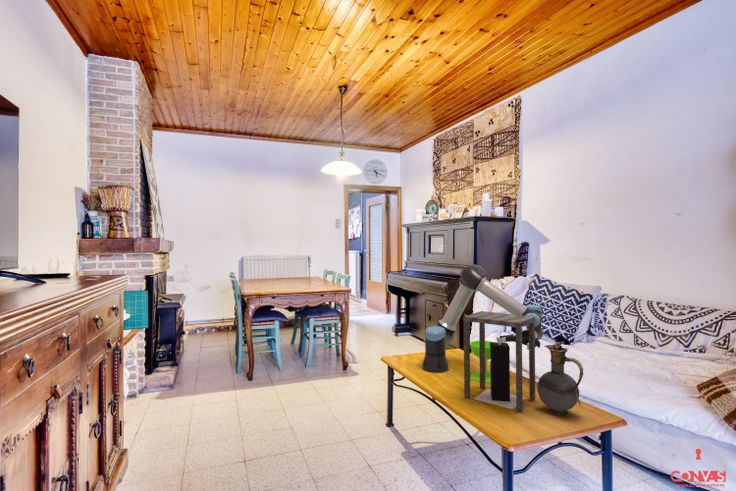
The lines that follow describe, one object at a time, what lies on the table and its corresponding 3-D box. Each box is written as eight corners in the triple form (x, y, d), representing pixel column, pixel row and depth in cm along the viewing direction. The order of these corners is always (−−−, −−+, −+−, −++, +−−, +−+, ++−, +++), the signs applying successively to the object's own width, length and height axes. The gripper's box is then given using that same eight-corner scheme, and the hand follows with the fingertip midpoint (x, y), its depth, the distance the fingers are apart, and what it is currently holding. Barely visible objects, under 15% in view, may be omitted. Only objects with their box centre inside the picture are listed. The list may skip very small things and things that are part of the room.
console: (463, 398, 181) (463, 316, 181) (482, 386, 196) (481, 311, 197) (520, 413, 164) (519, 323, 164) (535, 399, 179) (534, 316, 180)
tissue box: (510, 402, 175) (509, 339, 176) (492, 400, 177) (491, 338, 177) (507, 395, 183) (507, 335, 183) (490, 394, 185) (489, 335, 185)
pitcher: (550, 403, 175) (549, 336, 175) (591, 419, 158) (590, 345, 158) (533, 408, 170) (532, 339, 170) (574, 425, 153) (573, 348, 153)
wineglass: (501, 384, 200) (500, 348, 200) (468, 380, 205) (468, 346, 205) (501, 374, 215) (500, 341, 215) (471, 371, 220) (470, 339, 220)
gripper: (553, 348, 199) (540, 356, 183) (504, 340, 215) (489, 347, 199) (553, 333, 199) (540, 340, 183) (504, 326, 215) (489, 332, 199)
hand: (513, 344), depth 191 cm, fingers open, 13 cm apart
